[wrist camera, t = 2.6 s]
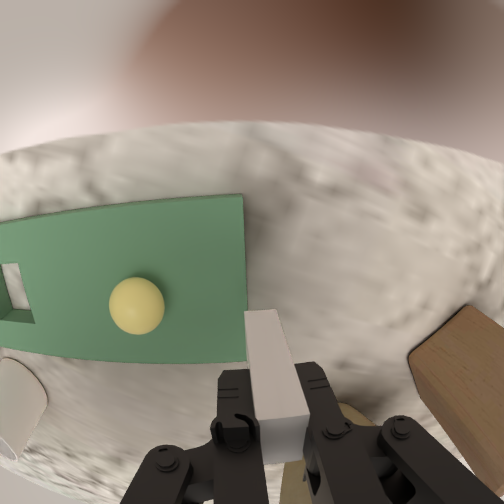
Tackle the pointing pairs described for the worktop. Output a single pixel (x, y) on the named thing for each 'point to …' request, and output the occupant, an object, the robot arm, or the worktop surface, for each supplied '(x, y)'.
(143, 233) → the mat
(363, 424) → the plant pot
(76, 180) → the worktop surface
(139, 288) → the ball
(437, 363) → the wooden block
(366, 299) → the worktop surface
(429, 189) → the worktop surface
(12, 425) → the mug
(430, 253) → the worktop surface
